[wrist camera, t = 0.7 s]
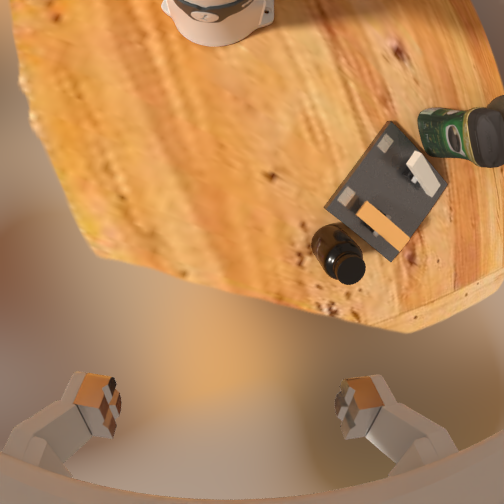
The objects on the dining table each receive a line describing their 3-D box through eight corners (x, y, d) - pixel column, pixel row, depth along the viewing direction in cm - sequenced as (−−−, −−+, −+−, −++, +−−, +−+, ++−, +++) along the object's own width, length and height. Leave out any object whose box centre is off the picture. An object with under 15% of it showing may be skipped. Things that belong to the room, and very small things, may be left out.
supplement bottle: (303, 237, 55) (322, 265, 44) (335, 217, 54) (361, 240, 43) (320, 266, 57) (341, 298, 46) (351, 247, 56) (378, 275, 45)
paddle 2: (399, 165, 45) (409, 170, 43) (413, 145, 44) (423, 150, 42) (421, 194, 51) (430, 200, 49) (433, 177, 50) (442, 182, 48)
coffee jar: (451, 150, 50) (517, 165, 33) (423, 159, 50) (489, 177, 33) (440, 104, 46) (507, 105, 29) (411, 111, 47) (478, 111, 30)
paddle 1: (352, 217, 51) (353, 218, 49) (367, 197, 50) (369, 197, 48) (394, 252, 51) (397, 255, 48) (408, 233, 50) (412, 235, 47)
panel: (323, 207, 53) (329, 212, 50) (387, 121, 47) (396, 121, 44) (387, 259, 58) (395, 266, 55) (443, 182, 52) (453, 186, 49)
